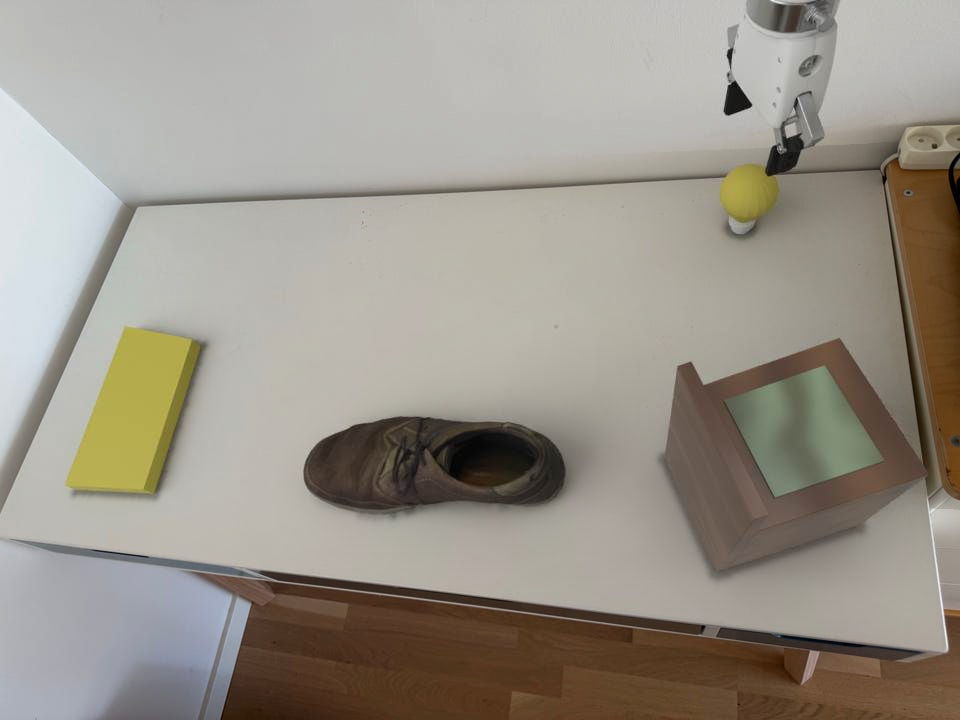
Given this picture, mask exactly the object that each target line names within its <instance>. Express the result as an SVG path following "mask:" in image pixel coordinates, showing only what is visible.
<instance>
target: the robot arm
mask: <svg viewBox="0 0 960 720" xmlns="http://www.w3.org/2000/svg"><path fill="white" fill-rule="evenodd" d="M840 3H841V0H745V4H744V6H743V8H742V11H741V16H740V19H739V23H738V24H735V25H732V26H730V27H727V29H726V34H727V35H726V36H727V43H728V45H727V47H729V48H728V49H727V51H726V59H727V60H728V61H727V62H728V65H729V70H728V71H727V72H726V79H727V82H728V83H729V84H727V88H726V94H725V100H724V104H723V110H722V111H723V114H724V115H725V116H727V117H730V116H732V115H735V114H738V113H741V112H743V111H746V110H749V109H751V108H752V107H754V109H755V110H756V112H757V113H758V115H760V117H761V118H762V120H763V121H764V122H765V124H767V125H768V126H770V127H771V128H773V132H774V133H773V134H774V138H775V139H774V140H775V144H774V145H773V146H771V148H770V152H769V154H768V158H767V162H766V166H765V167H766V169H765V173H766V175H767V176H768V177H769V176H772V175H775V176H776V175H778V174H785V173H787V172H790V171H791V170H793V169H794V168H795V167H797V164H798V162H799V158H800V156H801V153H802V151H803V150H806V149H809V148H812V147H815V146H816V144H818V143H819V142H820V141H822V140H823V139H824V138H825V136H826V135H825V131H824V128H823V125H822V122H821V119H820V116H819V113H820V111H821V108H822V106H823V103H824V99H825V96H826V93H827V89H828V85H829V82H830V78H831V74H832V69H833V64H834V59H835V53H836V47H837V41H838V40H837V38H838V23H837V21H836V19H835V17H836V16H837V12H838V9H839V6H840ZM793 110H794V112H795V113H793ZM792 113H793V114H792ZM791 124H795V129H796V134H794V135H792V136H789V137H787V132H786V126H789V125H791Z"/></svg>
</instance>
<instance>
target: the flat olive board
mask: <svg viewBox="0 0 960 720" xmlns="http://www.w3.org/2000/svg"><path fill="white" fill-rule="evenodd" d="M201 348H202V346H201V345H200V344H199V343H197V342H196V341H195V340H193V339H191V338H188V337H187V338H186V337H182V336H177V335H172V334H167V333H161V332H157V331H152V330H145V329H143V328H137V327H132V326H127V325H125V326H124V327H123V330H122V333H121V335H120V338H119V341H118V343H117V346H116V348H115V351H114V354H113V356H112V358H111V362H110V363H109V367H108V369H107V373H106V374H105V378H104V380H103V382H102V386H101V387H100V391H99V393H98V396H97V399H96V402H95V404H94V406H93V409H92V412H91V414H90V416H89V420H88V422H87V426H86V428H85V430H84V433H83V436H82V438H81V441H80V444H79V447H78V449H77V451H76V454H75V456H74V460H73V462H72V464H71V467H70V470H69V472H68V475H67V477H66V481H65V483H64V486H65V487H68V488H70V489H72V490H76V491H89V492H91V491H93V492H111V493H113V492H114V493H129V494H130V493H131V494H133V493H134V494H151V495H154V494H155V493H156V490H157V488H158V484H159V481H160V478H161V477H160V476H161V474H162V472H163V468H164V465H165V462H166V459H167V455H168V453H169V449H170V446H171V443H172V439H173V437H174V433H175V431H176V427H177V425H178V421H179V418H180V414H181V411H182V408H183V405H184V402H185V398H186V395H187V392H188V389H189V386H190V383H191V379H192V377H193V373H194V369H195V367H196V364H197V360H198V357H199V355H200V351H201Z"/></svg>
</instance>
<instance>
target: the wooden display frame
mask: <svg viewBox="0 0 960 720" xmlns="http://www.w3.org/2000/svg"><path fill="white" fill-rule="evenodd" d="M696 369H697V368H696V367H695V365H694V363H693V361H688V362H684V363H682V364H679V365H677V366H676V372H675V380H674V387H673V395H672V402H671V409H670V416H669V422H668V423H669V424H668V430H667V431H668V432H667V437H666V446H665V452H664V460H665V463H666V465H667V467H668V469H669V472H670V474H671V476H672V478H673V480H674V483H675V485H676V487H677V489H678V491H679V494H680V496H681V498H682V501H683V503H684V506H685V507H686V509H687V512H688V515H689V516H690V519H691V520H692V523H693V525H694V527H695V529H696V532H697V534H698V536H699V538H700V540H701V543H702V546H703V547H704V549H705V552H706V554H707V556H708V557H709V560H710V563H711V565H712V567H713V569H714V572H715V573H719V572H722V571H725V570H729V569H731V568H734V567H737V566H740V565H743V564H746V563H750V562H753V561H756V560H759V559H761V558H764V557H765V558H766V557H767V556H770V555H773V554H777V553H779V552H783V551H785V550H789V549H792V548H794V547H797V546H798V547H799V546H801V545H803V544H806V543H807V544H808V543H810V542H813V541H815V540H819V539H822V538H825V537H828V536H831V535H834V534H837V533H840V532H843V531H847V530H849V529H852V528H856V527H858V526H860V525H861V524H863V523H865V522H866V521H867V520H869V519H870V518H871V517H872V516H874V515H876V514H877V513H879V512H880V511H881V510H882V509H884V508H885V507H886V506H888V505H889V504H891V503H892V502H893V501H895V500H896V499H898V498H899V497H900V496H902V495H903V494H905V493H906V492H908V491H909V490H911V488H913V487H915V485H917V484H918V483H920V482H922V481H923V480H924V479H925V478H927V477H928V476H929V475H930V472H929V471H928V470H927V468H926V467H925V465H924V464H923V462H922V460H921V459H920V457H919V456H918V454H917V453H916V451H915V449H914V448H913V447H912V445H911V444H910V442H909V440H908V439H907V438H906V436H905V435H904V433H903V432H902V430H901V429H900V427H899V425H898V424H897V422H896V421H895V420H894V418H893V417H892V415H891V413H890V412H889V410H888V408H887V407H886V406H885V404H884V403H883V401H882V400H881V398H880V397H879V395H878V394H877V392H876V390H875V389H874V387H873V386H872V384H871V383H870V382H869V380H868V378H867V377H866V375H865V374H864V373H863V371H862V369H861V368H860V366H859V365H858V363H857V361H856V360H855V358H854V357H853V356H852V354H851V352H850V351H849V349H848V348H847V347H846V345H845V344H844V342H843V340H842V339H841V338H840V337H837V338H835V339H832V340H829V341H826V342H824V343H821V344H818V345H814V346H812V347H809V348H806V349H803V350H800V351H798V352H795V353H792V354H790V355H786V356H784V357H781V358H777V359H775V360H772V361H769V362H766V363H763V364H759V365H758V366H754V367H752V368H748V369H746V370H743V371H740V372H738V373H735V374H732V375H731V374H730V375H729V376H725V377H723V378H720V379H717V380H714V381H711V382H708V383H706V384H705V383H703V381H702V378H701V377H700V375H699V373H698V371H697V370H696Z"/></svg>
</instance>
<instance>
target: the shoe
mask: <svg viewBox="0 0 960 720" xmlns="http://www.w3.org/2000/svg"><path fill="white" fill-rule="evenodd" d="M302 472H303V473H302V475H303V482H304V485H305V486H306V489H307V490H308V492H309V493H310V494H312V496H313V497H315V498H317V499H319V500H320V501H322V502H324V503H326V504H329V505H331V506H333V507H336V508H339V509H342V510H346V511H349V512H355V513H362V514H363V513H364V514H372V515H373V514H374V515H375V514H377V515H378V514H391V513H395V512H400V511H404V510H408V509H411V508H414V507H417V506H427V505H434V504H441V503H449V502H461V501H462V502H473V503H483V504H497V505H498V504H499V505H510V506H517V507H538V506H541V505H545V504H548V503H549V502H551V501H552V500H554V499H555V498H556V497H557V496H558V494H559V493H560V492H561V489H562V488H563V486H564V482H565V478H566V465H565V461H564V458H563V455H562V453H561V452H560V450H559V448H558V447H557V444H555V443H554V442H553V441H552V440H551V439H550V438H548V436H546V435H544V434H542V433H541V432H538V431H536V430H533V429H531V428H530V427H529V428H528V427H526V426H525V425H523V424H519V423H515V422H511V421H506V422H505V421H504V422H501V421H474V422H473V421H462V420H461V421H460V420H458V421H457V420H451V419H450V420H449V419H444V418H443V419H442V418H434V417H431V416H426V417H425V416H424V417H422V416H404V415H403V416H402V415H400V416H394V417H387V418H382V419H379V420H376V421H375V420H374V421H371V422H362V423H356V424H353V425H351V426H350V427H348V428H346V429H343V430H340V431H338V432H335V433H333V434H330V435H328V436H326V437H324V438H321V440H319V441H318V442H317V443H316V444H315V445H314V447H313V448H311V450H310V451H309V453H308V455H307V456H306V459H305V462H304V466H303V471H302Z"/></svg>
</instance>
